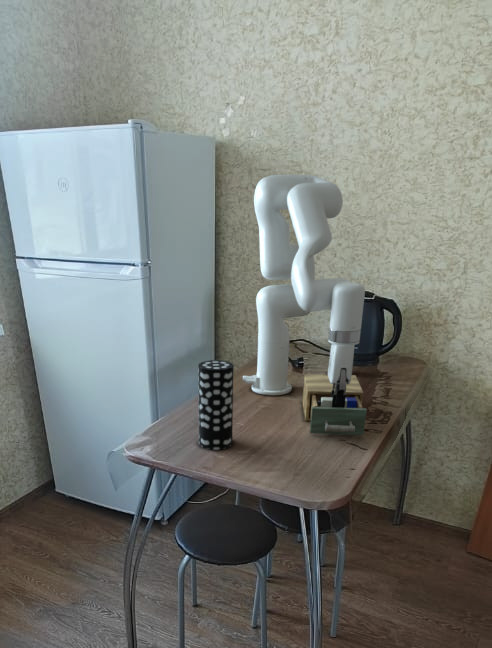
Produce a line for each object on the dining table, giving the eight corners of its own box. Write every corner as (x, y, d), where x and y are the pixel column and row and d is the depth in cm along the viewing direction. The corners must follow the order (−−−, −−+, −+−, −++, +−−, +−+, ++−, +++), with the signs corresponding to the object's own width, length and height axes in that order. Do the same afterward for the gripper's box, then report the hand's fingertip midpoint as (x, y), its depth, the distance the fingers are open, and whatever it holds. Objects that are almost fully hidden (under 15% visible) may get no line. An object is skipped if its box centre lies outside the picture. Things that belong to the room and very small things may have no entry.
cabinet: (359, 422, 156) (363, 392, 152) (305, 421, 157) (307, 390, 154) (352, 403, 170) (355, 375, 166) (302, 402, 171) (304, 374, 167)
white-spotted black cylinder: (230, 436, 148) (232, 359, 139) (233, 449, 141) (234, 369, 132) (198, 436, 148) (197, 360, 139) (199, 450, 140) (198, 370, 131)
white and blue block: (318, 409, 149) (319, 399, 148) (317, 406, 152) (318, 396, 150) (355, 410, 148) (356, 400, 147) (354, 407, 151) (355, 397, 150)
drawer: (366, 443, 141) (370, 417, 138) (311, 441, 142) (313, 415, 139) (356, 415, 159) (358, 391, 156) (307, 413, 160) (308, 390, 157)
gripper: (326, 328, 149) (320, 396, 157) (332, 343, 135) (325, 417, 143) (355, 329, 148) (348, 397, 157) (364, 344, 134) (356, 418, 142)
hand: (337, 406), depth 150 cm, fingers closed on white and blue block, 2 cm apart
